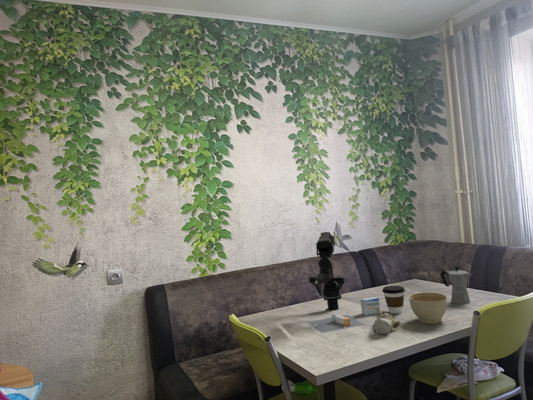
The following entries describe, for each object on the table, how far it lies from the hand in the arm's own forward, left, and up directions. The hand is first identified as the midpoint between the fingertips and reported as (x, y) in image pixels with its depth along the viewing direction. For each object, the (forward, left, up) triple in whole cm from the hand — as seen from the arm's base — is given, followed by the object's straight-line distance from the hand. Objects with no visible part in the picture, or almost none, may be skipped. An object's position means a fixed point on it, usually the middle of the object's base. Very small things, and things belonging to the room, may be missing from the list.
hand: (329, 296), depth 195 cm
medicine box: (+4, +19, -12) cm, 23 cm away
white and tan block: (+11, 0, -10) cm, 15 cm away
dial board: (+9, -2, -12) cm, 15 cm away
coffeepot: (+7, +67, -12) cm, 68 cm away
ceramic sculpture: (+26, +14, -12) cm, 32 cm away
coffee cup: (+5, +32, -12) cm, 34 cm away
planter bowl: (+25, +37, -12) cm, 46 cm away
